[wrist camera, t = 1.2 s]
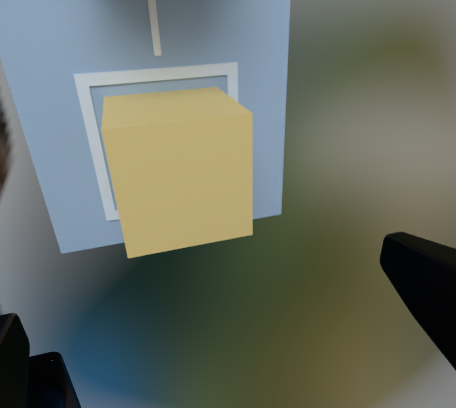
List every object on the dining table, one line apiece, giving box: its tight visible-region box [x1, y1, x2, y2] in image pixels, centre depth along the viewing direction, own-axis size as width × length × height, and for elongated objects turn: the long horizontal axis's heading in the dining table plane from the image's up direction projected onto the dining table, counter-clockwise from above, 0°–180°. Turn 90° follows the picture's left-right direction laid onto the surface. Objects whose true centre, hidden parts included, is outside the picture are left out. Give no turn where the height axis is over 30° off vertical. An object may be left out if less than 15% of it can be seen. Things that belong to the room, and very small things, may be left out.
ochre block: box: [101, 87, 253, 258], centre depth 15 cm, size 5×5×5 cm
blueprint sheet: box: [0, 0, 290, 254], centre depth 15 cm, size 22×12×1 cm, turn 2°
